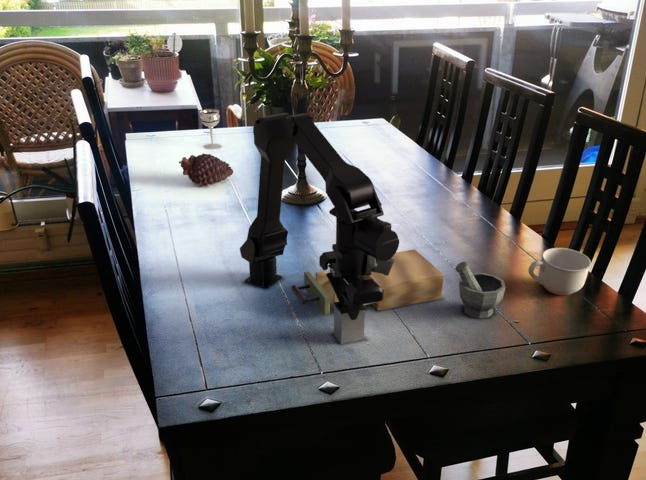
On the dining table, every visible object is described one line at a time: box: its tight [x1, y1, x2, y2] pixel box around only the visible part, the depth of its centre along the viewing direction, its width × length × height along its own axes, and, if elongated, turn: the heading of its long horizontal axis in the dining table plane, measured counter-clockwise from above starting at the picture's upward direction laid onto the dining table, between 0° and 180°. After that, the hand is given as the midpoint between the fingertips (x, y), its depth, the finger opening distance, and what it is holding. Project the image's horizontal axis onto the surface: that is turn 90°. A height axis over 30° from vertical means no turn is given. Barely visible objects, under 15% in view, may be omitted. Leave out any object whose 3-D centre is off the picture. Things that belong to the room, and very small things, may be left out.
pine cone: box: [178, 153, 234, 187], centre depth 222 cm, size 18×10×10 cm
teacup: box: [527, 247, 592, 296], centre depth 166 cm, size 14×11×8 cm
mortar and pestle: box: [455, 261, 506, 319], centre depth 156 cm, size 11×9×12 cm
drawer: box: [290, 269, 377, 316], centre depth 160 cm, size 19×13×4 cm
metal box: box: [333, 301, 367, 345], centre depth 147 cm, size 5×4×8 cm
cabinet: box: [367, 249, 445, 312], centre depth 165 cm, size 16×14×6 cm
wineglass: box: [199, 108, 221, 150], centre depth 253 cm, size 7×7×12 cm
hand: (349, 314), depth 146 cm, fingers closed on metal box, 4 cm apart
